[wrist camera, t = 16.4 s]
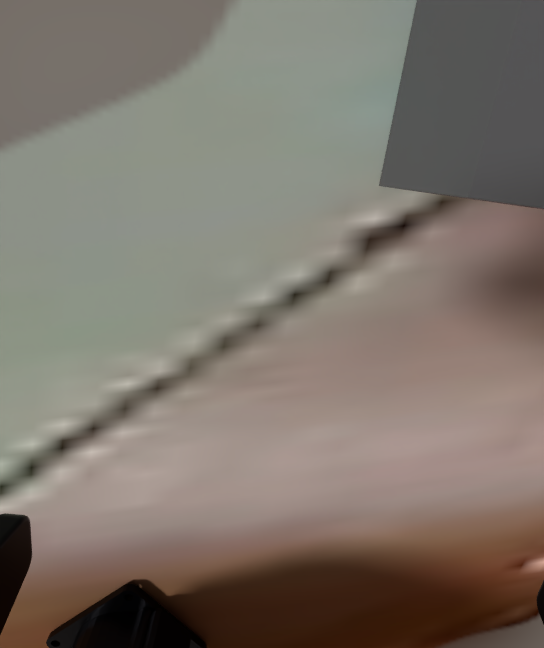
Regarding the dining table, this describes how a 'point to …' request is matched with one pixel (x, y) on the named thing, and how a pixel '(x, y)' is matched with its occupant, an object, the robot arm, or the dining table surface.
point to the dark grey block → (471, 103)
